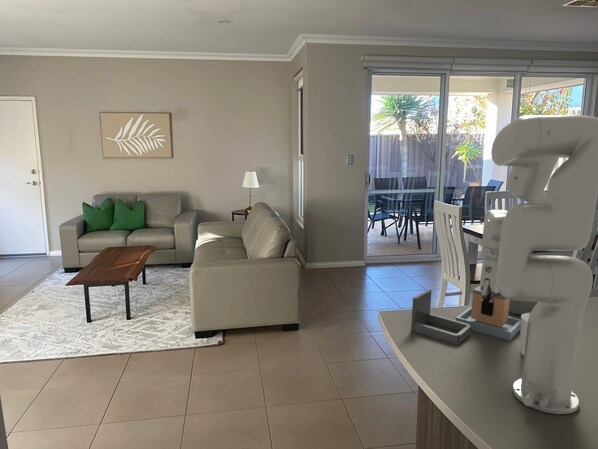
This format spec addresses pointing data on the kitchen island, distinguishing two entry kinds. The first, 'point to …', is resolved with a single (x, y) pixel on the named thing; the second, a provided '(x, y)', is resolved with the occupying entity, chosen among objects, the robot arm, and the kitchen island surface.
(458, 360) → the kitchen island surface
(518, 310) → the smart speaker
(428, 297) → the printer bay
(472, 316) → the block
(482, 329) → the tray
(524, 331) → the white cup
